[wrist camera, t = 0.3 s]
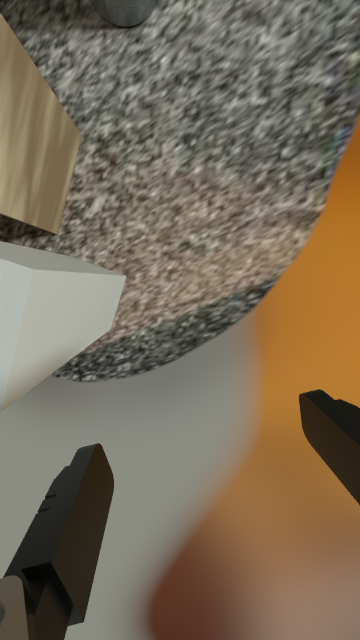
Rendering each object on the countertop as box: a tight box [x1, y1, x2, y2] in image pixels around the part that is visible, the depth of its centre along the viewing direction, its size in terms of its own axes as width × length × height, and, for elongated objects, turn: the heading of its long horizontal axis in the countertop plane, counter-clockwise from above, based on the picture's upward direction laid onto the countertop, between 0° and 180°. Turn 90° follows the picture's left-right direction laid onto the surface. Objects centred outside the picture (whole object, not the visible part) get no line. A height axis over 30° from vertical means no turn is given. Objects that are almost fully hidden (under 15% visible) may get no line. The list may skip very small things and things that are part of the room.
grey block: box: [0, 241, 126, 411], centre depth 24 cm, size 9×9×23 cm
